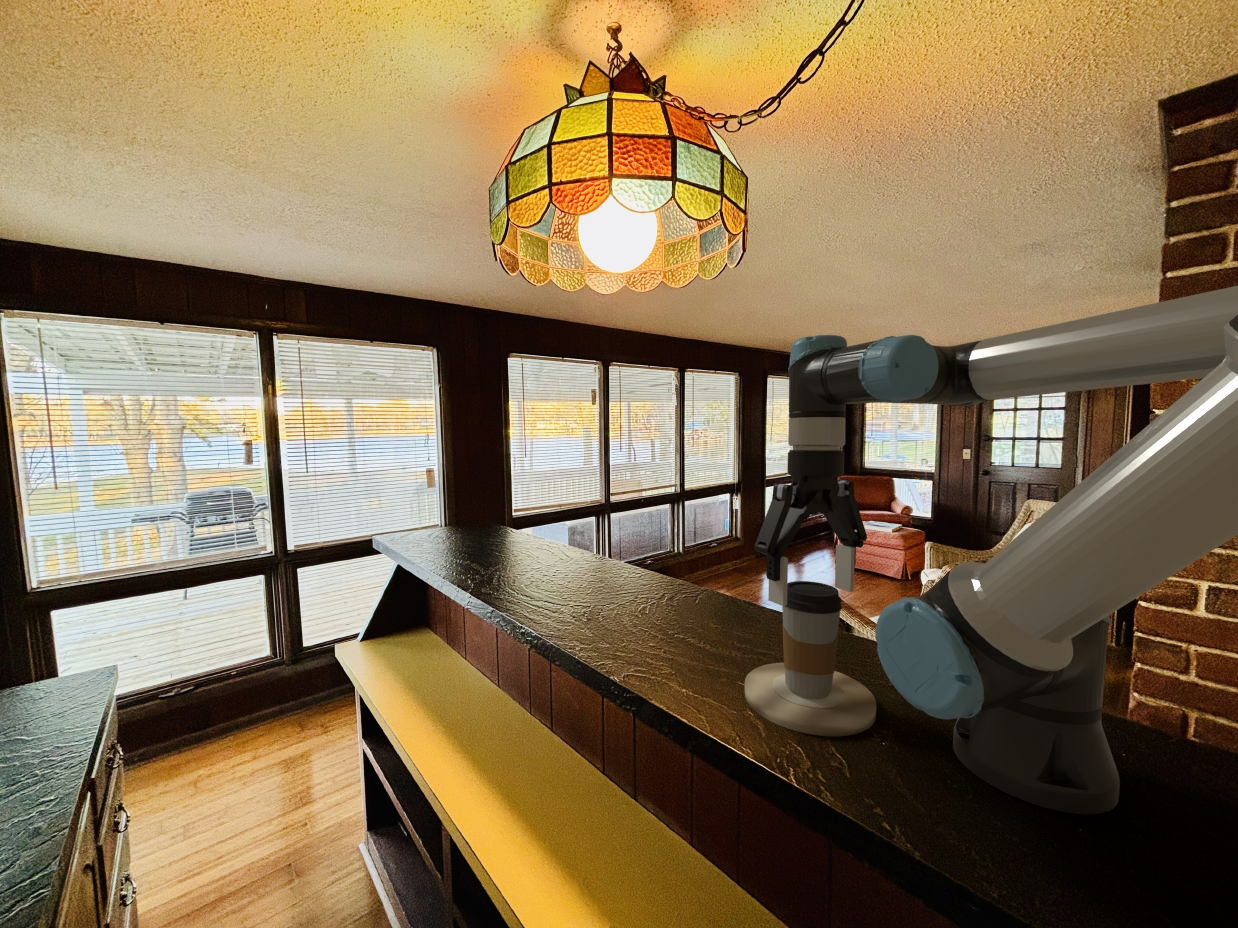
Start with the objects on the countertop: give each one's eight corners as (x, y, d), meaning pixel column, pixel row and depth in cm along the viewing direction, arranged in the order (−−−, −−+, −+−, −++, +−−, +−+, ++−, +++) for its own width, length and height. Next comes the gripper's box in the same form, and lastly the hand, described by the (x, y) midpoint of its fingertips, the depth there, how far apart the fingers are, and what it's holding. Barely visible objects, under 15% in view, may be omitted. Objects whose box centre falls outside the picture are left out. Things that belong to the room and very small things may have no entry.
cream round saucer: (904, 714, 72) (904, 702, 72) (813, 751, 64) (814, 738, 63) (803, 662, 88) (803, 653, 88) (719, 687, 79) (719, 676, 79)
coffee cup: (844, 706, 71) (848, 599, 70) (781, 700, 72) (784, 595, 71) (832, 678, 79) (835, 581, 78) (775, 672, 80) (778, 578, 79)
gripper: (851, 447, 82) (847, 578, 84) (729, 448, 71) (727, 601, 72) (895, 448, 76) (891, 590, 77) (769, 450, 64) (766, 618, 65)
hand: (812, 595), depth 74 cm, fingers open, 13 cm apart
